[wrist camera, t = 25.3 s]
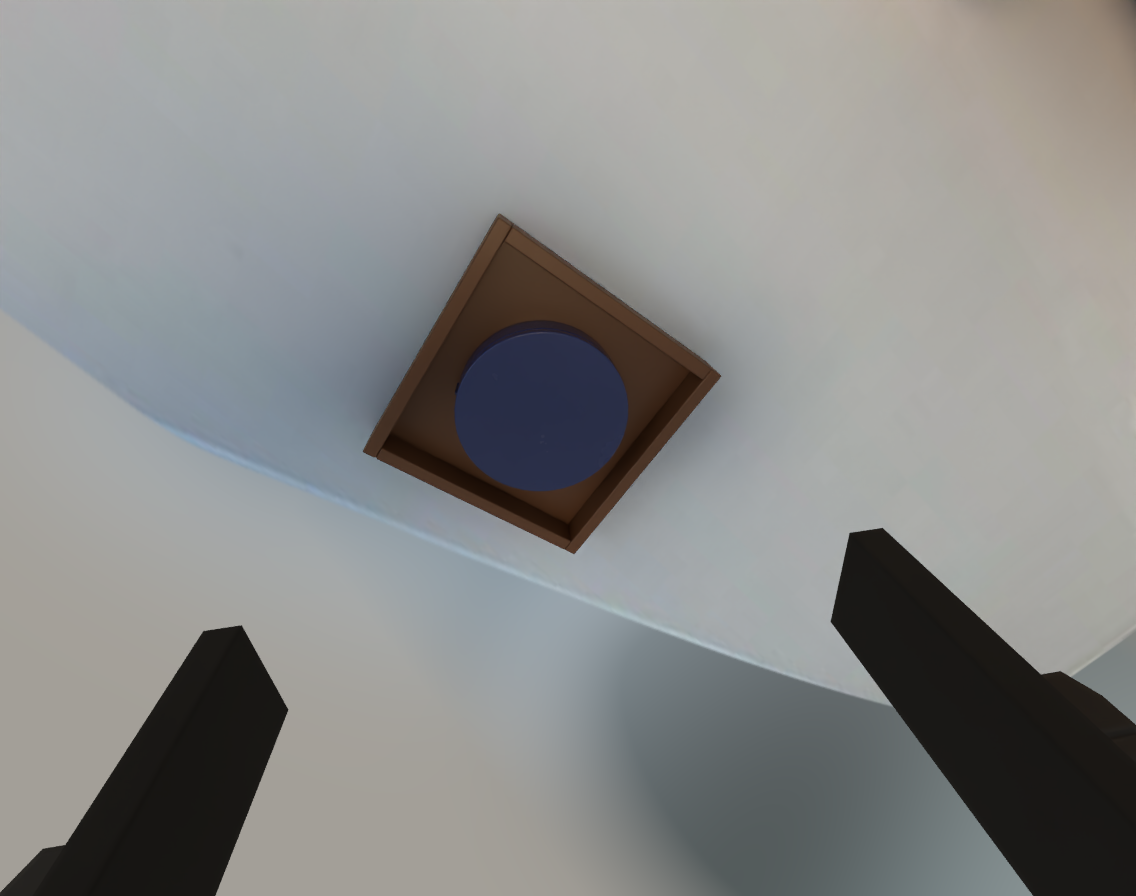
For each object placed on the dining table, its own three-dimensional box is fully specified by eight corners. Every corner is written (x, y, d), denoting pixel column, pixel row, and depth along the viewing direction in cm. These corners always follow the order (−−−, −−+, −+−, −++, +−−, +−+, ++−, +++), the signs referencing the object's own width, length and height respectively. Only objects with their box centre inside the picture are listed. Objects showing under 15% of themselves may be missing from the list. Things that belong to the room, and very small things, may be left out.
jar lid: (443, 455, 24) (438, 475, 23) (473, 299, 21) (470, 310, 19) (593, 482, 26) (599, 504, 24) (642, 342, 23) (652, 355, 21)
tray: (373, 431, 24) (362, 452, 22) (498, 212, 20) (498, 216, 18) (569, 529, 28) (574, 554, 26) (705, 361, 24) (722, 376, 22)
